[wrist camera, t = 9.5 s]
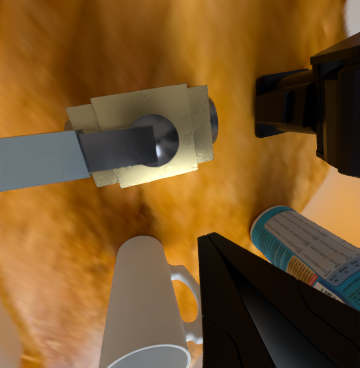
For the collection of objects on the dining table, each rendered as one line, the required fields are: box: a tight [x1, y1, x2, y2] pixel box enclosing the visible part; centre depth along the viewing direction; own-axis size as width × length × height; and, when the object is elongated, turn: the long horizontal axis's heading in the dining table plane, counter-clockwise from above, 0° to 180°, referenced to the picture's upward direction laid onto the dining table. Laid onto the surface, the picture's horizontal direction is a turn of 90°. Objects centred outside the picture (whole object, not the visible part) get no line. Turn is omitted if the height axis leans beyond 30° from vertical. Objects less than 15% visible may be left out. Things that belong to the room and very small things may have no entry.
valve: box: [64, 83, 218, 188], centre depth 15 cm, size 12×6×6 cm, turn 100°
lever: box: [0, 114, 179, 192], centre depth 10 cm, size 3×11×2 cm, turn 96°
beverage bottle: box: [250, 205, 360, 311], centre depth 18 cm, size 8×8×20 cm
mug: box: [99, 236, 203, 368], centre depth 18 cm, size 10×7×12 cm, turn 81°
